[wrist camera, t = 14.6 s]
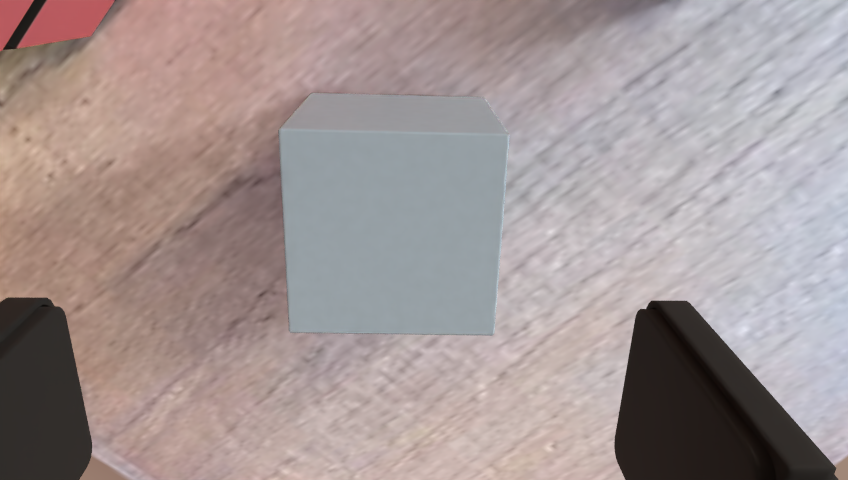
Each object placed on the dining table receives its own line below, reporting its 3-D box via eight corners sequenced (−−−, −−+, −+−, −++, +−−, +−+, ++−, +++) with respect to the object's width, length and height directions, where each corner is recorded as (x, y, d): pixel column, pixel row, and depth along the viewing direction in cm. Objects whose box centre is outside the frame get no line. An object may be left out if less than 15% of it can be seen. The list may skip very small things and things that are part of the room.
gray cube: (316, 254, 25) (288, 333, 19) (310, 92, 22) (277, 128, 17) (474, 256, 25) (494, 336, 19) (484, 96, 23) (510, 134, 17)
